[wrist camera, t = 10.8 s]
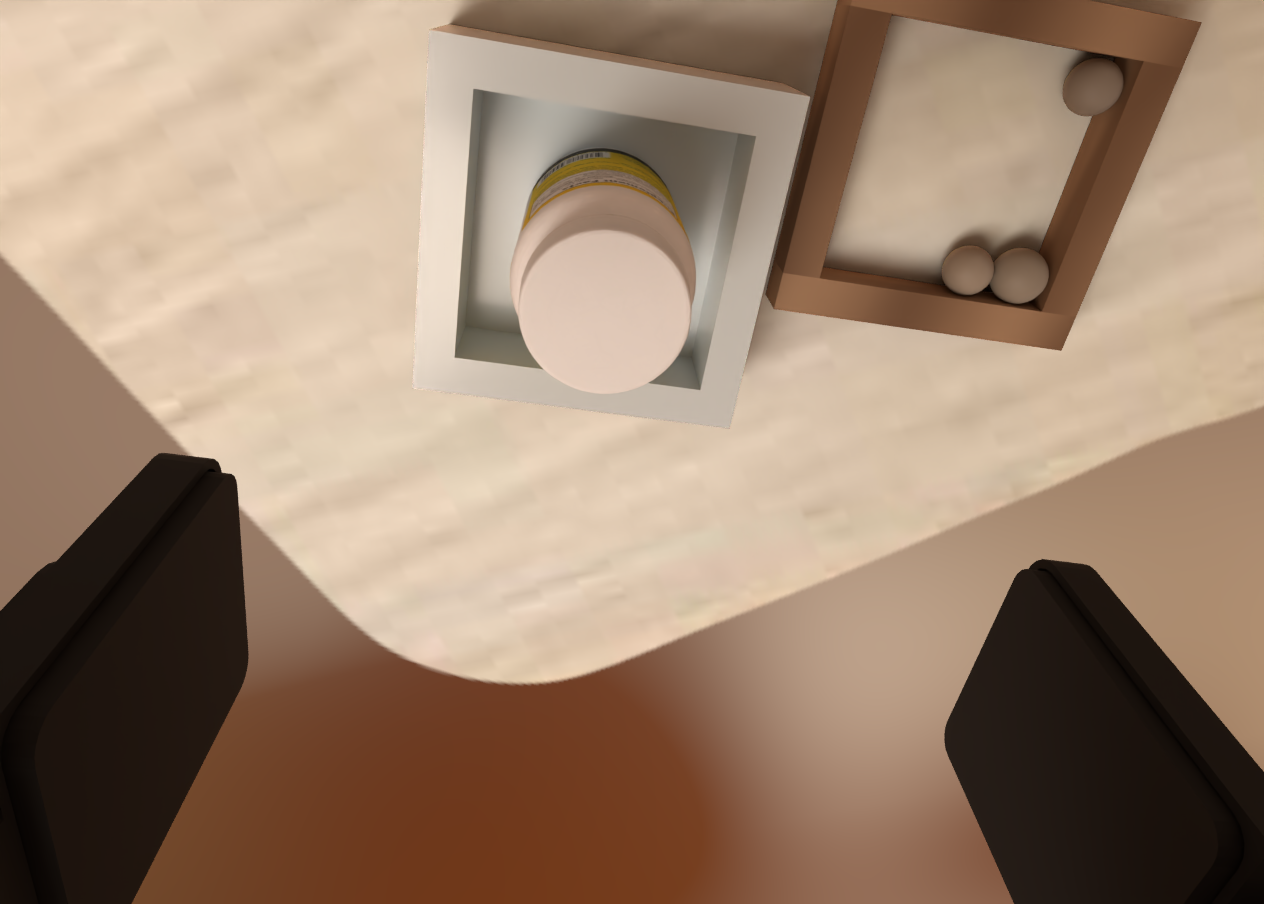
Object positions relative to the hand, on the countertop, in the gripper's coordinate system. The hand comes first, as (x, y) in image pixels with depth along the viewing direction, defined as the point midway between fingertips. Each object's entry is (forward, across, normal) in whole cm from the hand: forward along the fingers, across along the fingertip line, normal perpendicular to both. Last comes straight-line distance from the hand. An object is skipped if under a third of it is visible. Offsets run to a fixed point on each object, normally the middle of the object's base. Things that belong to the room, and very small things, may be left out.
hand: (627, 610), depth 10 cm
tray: (+20, -11, -3) cm, 23 cm away
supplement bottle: (+19, 0, 0) cm, 19 cm away
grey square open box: (+20, 0, 0) cm, 20 cm away
